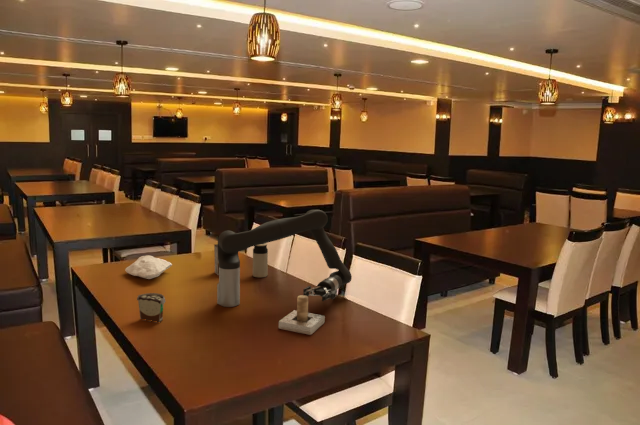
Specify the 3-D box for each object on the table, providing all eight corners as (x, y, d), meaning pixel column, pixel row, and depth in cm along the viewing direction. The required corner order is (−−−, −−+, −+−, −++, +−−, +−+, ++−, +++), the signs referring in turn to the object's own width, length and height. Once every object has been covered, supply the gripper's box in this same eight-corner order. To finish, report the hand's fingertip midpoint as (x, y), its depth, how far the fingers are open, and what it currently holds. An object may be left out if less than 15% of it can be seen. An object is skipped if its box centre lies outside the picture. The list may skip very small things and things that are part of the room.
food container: (172, 318, 197) (171, 295, 195) (162, 323, 191) (162, 299, 190) (147, 313, 201) (146, 291, 199) (137, 318, 195) (136, 295, 194)
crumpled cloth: (166, 262, 277) (163, 247, 275) (181, 278, 247) (178, 261, 245) (123, 273, 266) (120, 257, 264) (134, 290, 236) (130, 273, 234)
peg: (294, 326, 192) (295, 297, 191) (299, 322, 197) (300, 294, 195) (304, 328, 191) (305, 299, 189) (309, 324, 195) (310, 296, 193)
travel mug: (264, 278, 256) (265, 245, 253) (250, 277, 258) (250, 244, 255) (269, 274, 264) (269, 242, 261) (255, 273, 265) (255, 241, 263)
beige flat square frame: (278, 328, 190) (278, 321, 189) (294, 316, 203) (294, 310, 202) (310, 334, 185) (310, 327, 184) (324, 322, 197) (324, 315, 197)
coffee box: (230, 270, 269) (230, 242, 266) (233, 273, 263) (233, 245, 261) (214, 272, 265) (214, 244, 262) (217, 275, 259) (217, 246, 257)
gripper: (313, 276, 219) (298, 286, 204) (342, 281, 214) (329, 291, 199) (313, 292, 220) (298, 303, 206) (342, 297, 215) (328, 308, 200)
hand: (313, 297), depth 202 cm, fingers open, 8 cm apart
